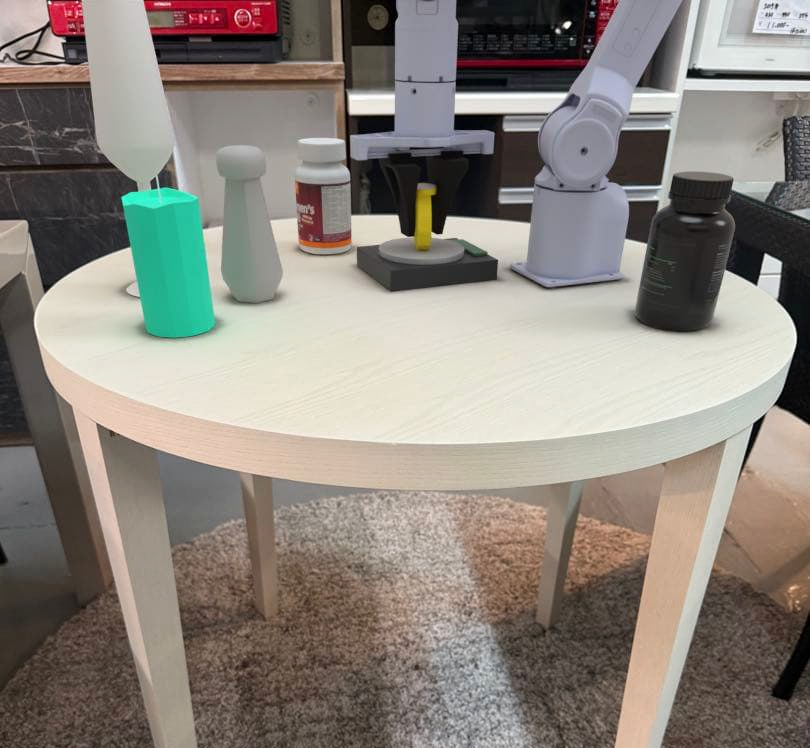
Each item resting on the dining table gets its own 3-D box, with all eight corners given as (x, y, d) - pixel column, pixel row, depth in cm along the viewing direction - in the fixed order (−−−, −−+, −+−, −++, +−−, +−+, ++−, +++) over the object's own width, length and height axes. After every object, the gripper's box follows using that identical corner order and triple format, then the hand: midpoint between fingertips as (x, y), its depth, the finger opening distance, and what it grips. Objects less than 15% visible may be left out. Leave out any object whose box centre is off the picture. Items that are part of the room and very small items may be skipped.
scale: (455, 255, 87) (456, 232, 85) (496, 279, 79) (498, 253, 78) (356, 265, 83) (356, 240, 81) (390, 291, 75) (390, 264, 74)
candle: (152, 315, 68) (125, 169, 62) (219, 314, 69) (200, 169, 62) (138, 338, 63) (108, 182, 57) (211, 337, 64) (189, 182, 57)
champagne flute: (182, 274, 79) (139, -9, 65) (205, 291, 74) (165, -10, 61) (117, 284, 76) (58, -11, 62) (138, 302, 71) (78, -13, 58)
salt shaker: (272, 308, 70) (258, 152, 63) (214, 303, 71) (194, 150, 64) (292, 289, 75) (281, 143, 68) (238, 285, 76) (221, 141, 69)
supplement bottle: (687, 306, 72) (718, 168, 66) (726, 329, 67) (764, 182, 60) (621, 309, 71) (645, 169, 64) (655, 334, 66) (686, 184, 59)
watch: (406, 240, 82) (406, 180, 78) (432, 239, 82) (433, 179, 79) (410, 254, 77) (410, 190, 73) (437, 254, 77) (439, 190, 74)
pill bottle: (289, 247, 89) (281, 139, 82) (333, 240, 92) (329, 135, 86) (317, 258, 85) (311, 145, 78) (362, 250, 88) (360, 141, 82)
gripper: (367, 85, 65) (369, 248, 73) (514, 82, 70) (501, 236, 78) (341, 79, 71) (345, 232, 78) (479, 77, 75) (470, 222, 83)
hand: (421, 233), depth 78 cm, fingers closed on watch, 2 cm apart
